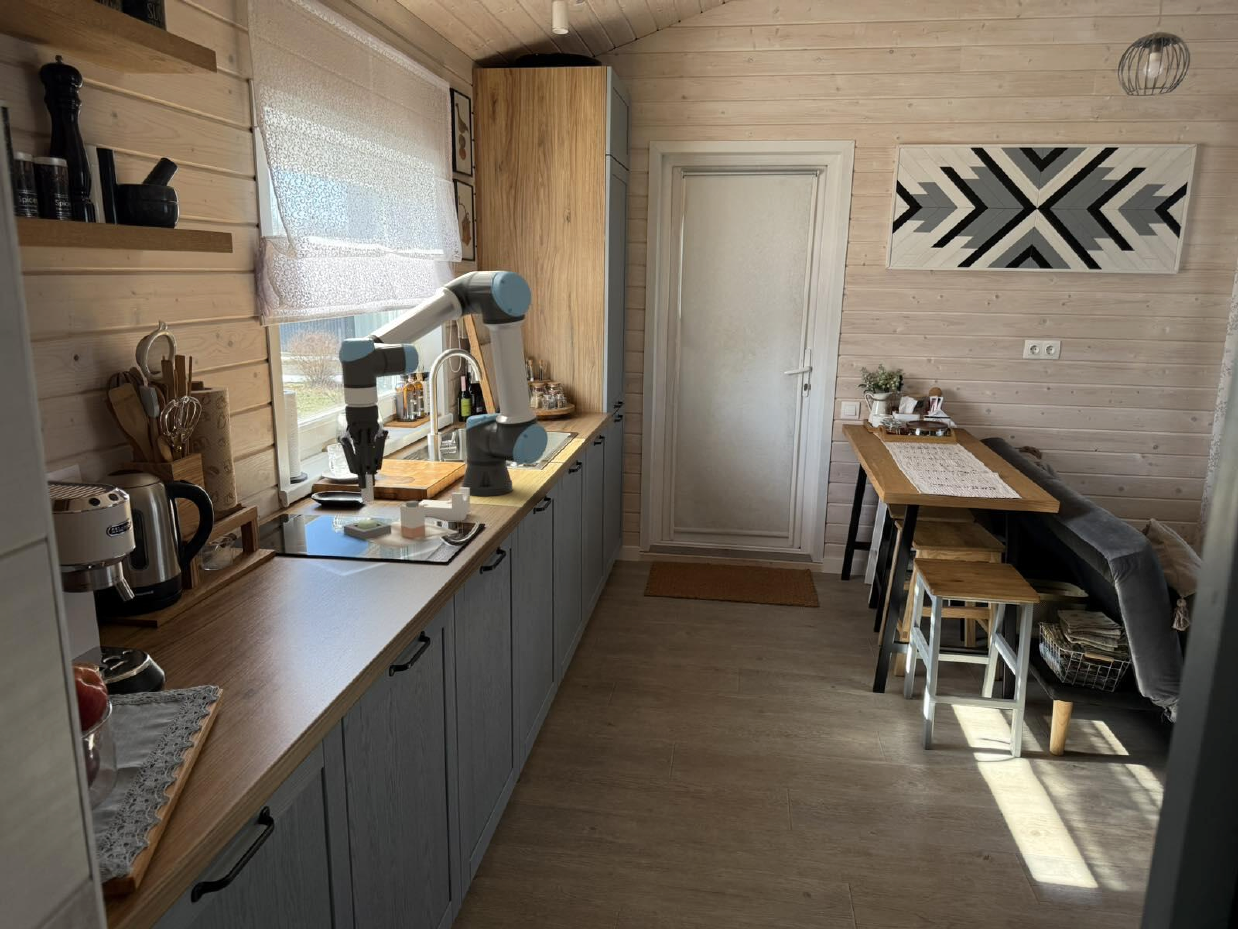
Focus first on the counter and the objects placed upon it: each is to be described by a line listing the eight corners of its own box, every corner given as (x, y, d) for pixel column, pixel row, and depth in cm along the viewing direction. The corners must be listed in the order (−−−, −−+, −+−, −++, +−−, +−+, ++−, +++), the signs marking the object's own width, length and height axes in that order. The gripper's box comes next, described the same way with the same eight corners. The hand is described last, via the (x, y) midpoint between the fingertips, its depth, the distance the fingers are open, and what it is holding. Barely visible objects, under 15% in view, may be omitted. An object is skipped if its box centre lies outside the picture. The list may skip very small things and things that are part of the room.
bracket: (470, 514, 233) (469, 487, 231) (461, 521, 226) (460, 493, 225) (424, 512, 235) (423, 485, 233) (414, 519, 228) (413, 491, 226)
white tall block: (414, 532, 212) (413, 499, 210) (425, 535, 210) (424, 502, 208) (401, 535, 209) (400, 502, 207) (412, 538, 207) (410, 505, 205)
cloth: (411, 519, 226) (410, 516, 226) (464, 534, 214) (464, 531, 213) (341, 536, 210) (340, 533, 210) (394, 554, 198) (394, 550, 197)
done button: (369, 528, 214) (369, 518, 213) (380, 532, 211) (380, 522, 211) (354, 532, 211) (354, 522, 210) (365, 535, 208) (364, 525, 207)
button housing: (371, 526, 216) (371, 519, 216) (391, 532, 212) (391, 525, 211) (343, 533, 210) (343, 525, 210) (363, 540, 205) (363, 532, 205)
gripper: (375, 399, 212) (381, 492, 217) (328, 406, 202) (335, 503, 207) (393, 402, 207) (399, 497, 212) (346, 409, 197) (353, 508, 202)
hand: (367, 500), depth 210 cm, fingers closed
